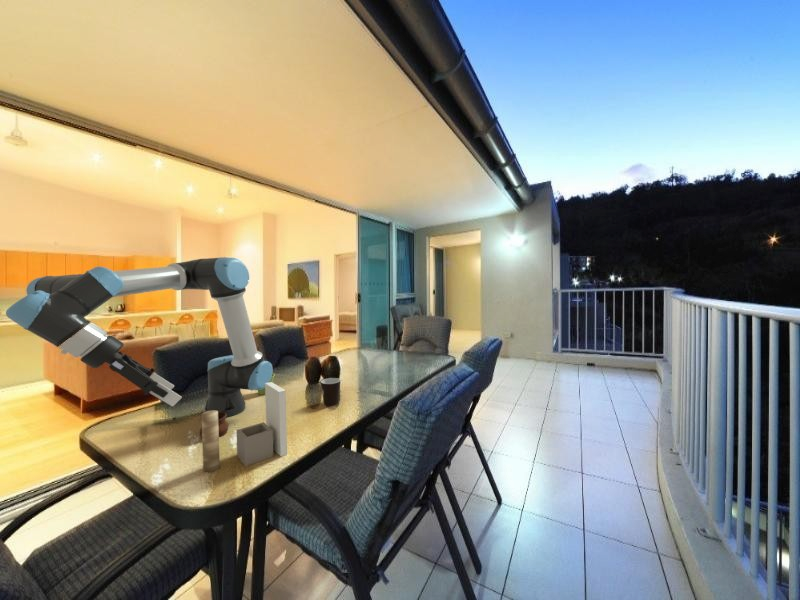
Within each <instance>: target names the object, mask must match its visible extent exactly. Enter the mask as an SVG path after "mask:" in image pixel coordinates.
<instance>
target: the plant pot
mask: <svg viewBox="0 0 800 600" xmlns="http://www.w3.org/2000/svg"><path fill="white" fill-rule="evenodd" d="M275 375H276V374H275V373H272V377H271V379H270V382H272V383H274V380H275V379H274V377H275ZM257 394H258V395H260V396H266V395H265V388H263V389H261V390H257Z"/></svg>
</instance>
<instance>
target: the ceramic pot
mask: <svg viewBox="0 0 800 600" xmlns="http://www.w3.org/2000/svg"><path fill="white" fill-rule="evenodd" d="M227 418H228V417H227V414H226V413H225V412H218V427H219V438H222V437H224V436H225V435H226V434H227V433H228V430H229V423H228V422H227V420H226V419H227ZM200 420H201V421H202V417H201V418H200ZM232 424H233V425H235V423H233V422H232ZM199 429H200V430H199V434H200V437H202V426H201V427H200V428H199Z"/></svg>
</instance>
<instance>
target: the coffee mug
mask: <svg viewBox="0 0 800 600" xmlns="http://www.w3.org/2000/svg"><path fill="white" fill-rule="evenodd" d="M341 382H342V381H341V378H338V377H337V378H336V377H329V378H325V379H322V380H320V384H321V385H320V386H321V392H322V401H323V405H324V406H328V407H330V406H336V405H338V404H339V403H340V402H339V400H340V390H341Z"/></svg>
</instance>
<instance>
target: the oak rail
mask: <svg viewBox="0 0 800 600" xmlns="http://www.w3.org/2000/svg"><path fill="white" fill-rule="evenodd" d="M200 415H201V416H200V417H201V418H202V420H201V427H202V436H201V439H202V442H201V443H202V466H203V467H202V470H203V471H202V472H203V473H212V472H215V471H217V470H219V468H220V466H221V463H220V460H221V459H220V437H219V427H218V411H216V410H212V411H207V412H204V411H203V413H201V414H200Z"/></svg>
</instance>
